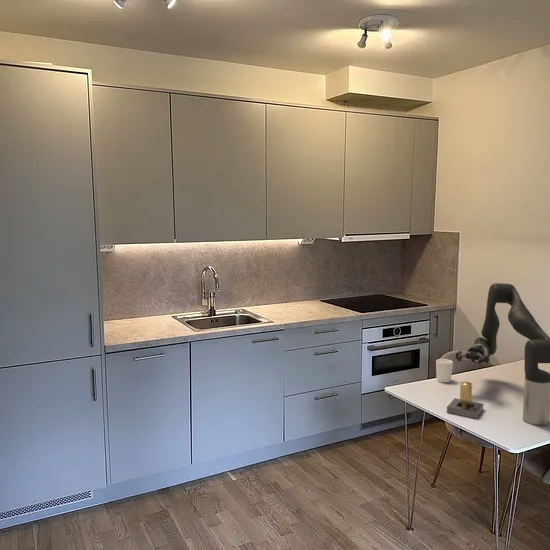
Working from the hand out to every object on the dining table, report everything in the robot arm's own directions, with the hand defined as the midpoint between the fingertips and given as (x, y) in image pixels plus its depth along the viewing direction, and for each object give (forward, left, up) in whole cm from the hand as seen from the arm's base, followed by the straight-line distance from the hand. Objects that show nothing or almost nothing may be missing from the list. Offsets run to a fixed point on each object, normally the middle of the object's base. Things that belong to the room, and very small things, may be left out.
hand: (468, 360), depth 223 cm
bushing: (-3, +15, -18) cm, 23 cm away
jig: (-3, +15, -18) cm, 23 cm away
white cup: (+16, -20, -18) cm, 32 cm away
